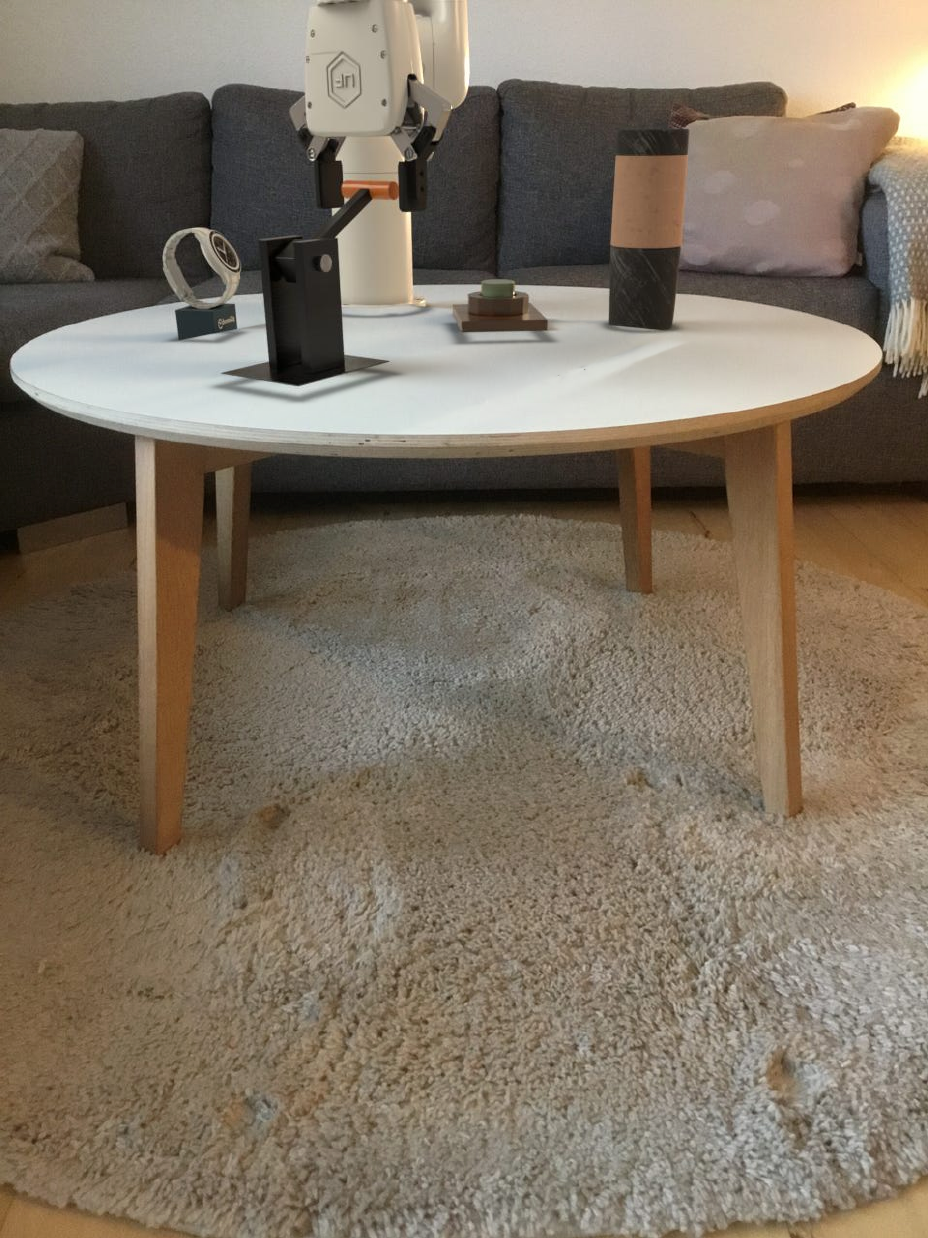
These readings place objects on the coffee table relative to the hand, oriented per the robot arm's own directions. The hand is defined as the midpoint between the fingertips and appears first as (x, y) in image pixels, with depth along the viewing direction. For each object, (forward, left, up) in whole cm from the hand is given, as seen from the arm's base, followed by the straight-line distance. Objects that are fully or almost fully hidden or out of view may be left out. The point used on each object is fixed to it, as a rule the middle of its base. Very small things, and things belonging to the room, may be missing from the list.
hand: (371, 209), depth 91 cm
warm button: (-9, +18, -10) cm, 22 cm away
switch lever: (+2, -4, -2) cm, 5 cm away
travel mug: (-5, +34, -14) cm, 37 cm away
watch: (-21, -11, -14) cm, 28 cm away
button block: (-9, +18, -14) cm, 24 cm away
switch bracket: (+5, -8, -14) cm, 17 cm away
